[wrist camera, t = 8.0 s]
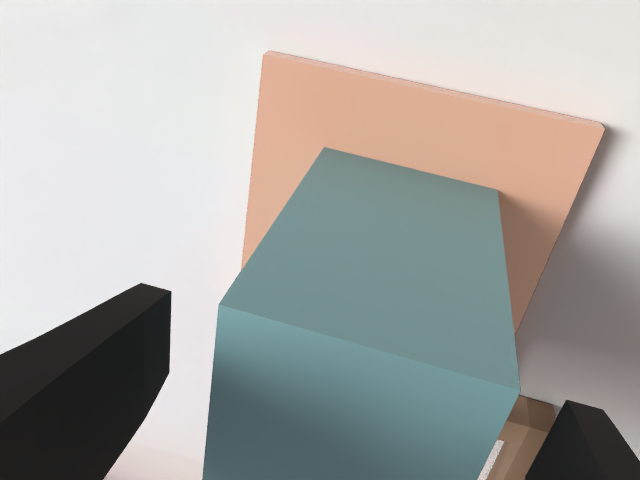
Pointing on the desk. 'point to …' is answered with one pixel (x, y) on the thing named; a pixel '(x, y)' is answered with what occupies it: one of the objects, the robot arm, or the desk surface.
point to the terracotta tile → (421, 150)
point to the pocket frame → (522, 438)
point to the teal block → (366, 333)
